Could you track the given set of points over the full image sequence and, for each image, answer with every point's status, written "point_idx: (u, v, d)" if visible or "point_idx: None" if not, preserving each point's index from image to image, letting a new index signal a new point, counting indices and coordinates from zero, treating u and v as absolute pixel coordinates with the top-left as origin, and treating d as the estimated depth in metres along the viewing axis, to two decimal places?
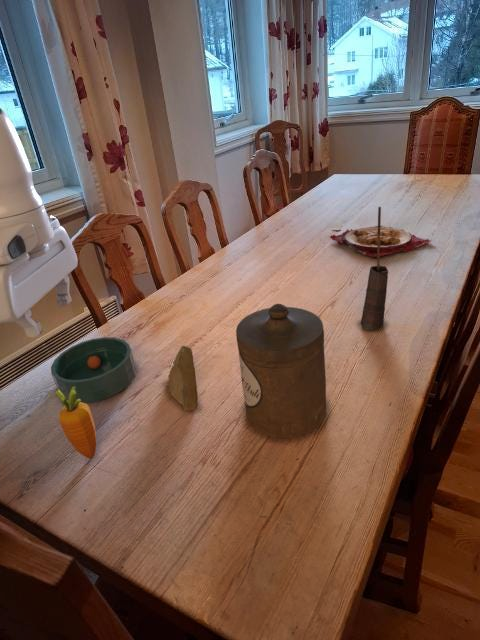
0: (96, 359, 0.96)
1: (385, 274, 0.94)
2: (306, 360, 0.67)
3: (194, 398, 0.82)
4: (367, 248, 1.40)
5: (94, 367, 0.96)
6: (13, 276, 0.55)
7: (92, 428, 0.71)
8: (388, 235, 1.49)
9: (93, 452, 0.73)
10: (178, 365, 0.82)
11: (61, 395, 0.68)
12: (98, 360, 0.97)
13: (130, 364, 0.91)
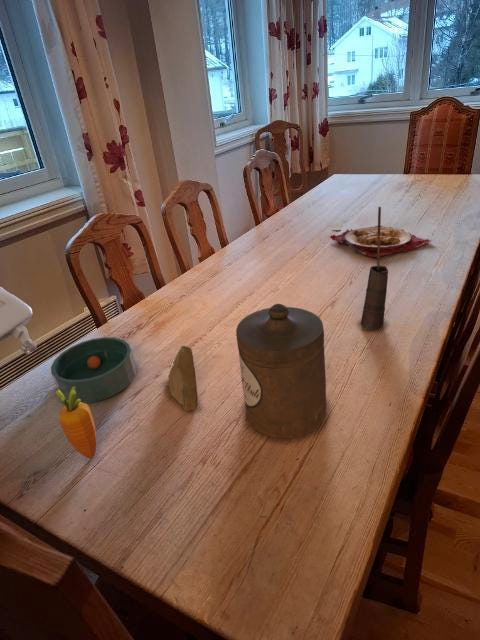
0: (96, 359, 0.96)
1: (385, 274, 0.94)
2: (306, 360, 0.67)
3: (194, 398, 0.82)
4: (367, 248, 1.40)
5: (94, 367, 0.96)
6: None
7: (92, 428, 0.71)
8: (388, 235, 1.49)
9: (93, 452, 0.73)
10: (178, 365, 0.82)
11: (61, 395, 0.68)
12: (98, 360, 0.97)
13: (130, 364, 0.91)
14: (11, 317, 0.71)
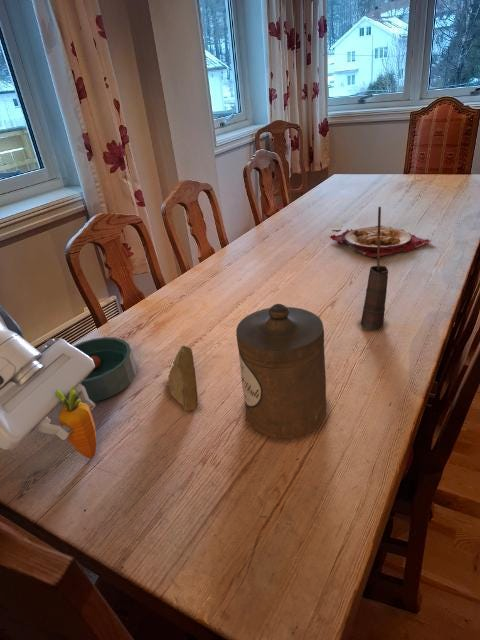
0: (96, 359, 0.96)
1: (385, 274, 0.94)
2: (306, 360, 0.67)
3: (194, 398, 0.82)
4: (367, 248, 1.40)
5: None
6: (6, 405, 0.63)
7: (92, 428, 0.71)
8: (388, 235, 1.49)
9: (93, 452, 0.73)
10: (178, 365, 0.82)
11: (61, 395, 0.68)
12: (98, 360, 0.97)
13: (130, 364, 0.91)
14: (76, 372, 0.73)
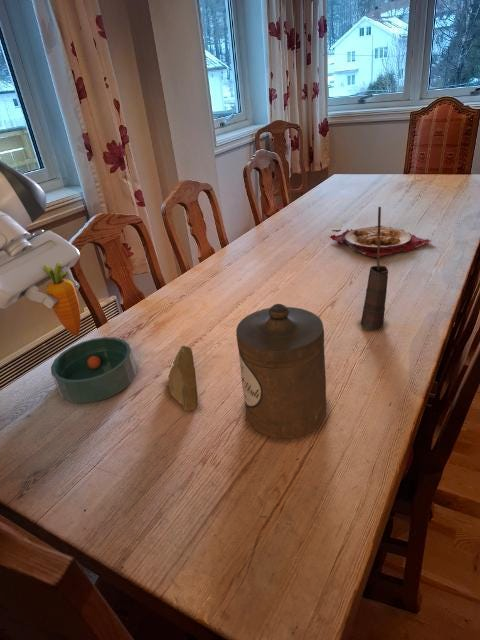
0: (96, 359, 0.96)
1: (385, 274, 0.94)
2: (306, 360, 0.67)
3: (194, 398, 0.82)
4: (367, 248, 1.40)
5: (94, 367, 0.96)
6: None
7: (76, 303, 0.79)
8: (388, 235, 1.49)
9: (78, 328, 0.81)
10: (178, 365, 0.82)
11: None
12: (98, 360, 0.97)
13: (130, 364, 0.91)
14: (63, 255, 0.81)
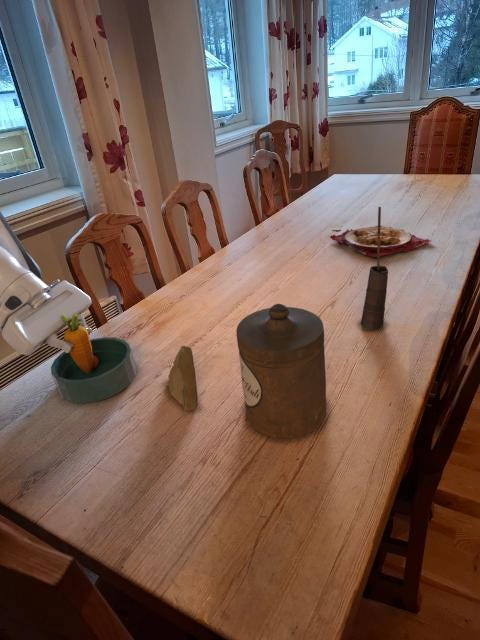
0: None
1: (385, 274, 0.94)
2: (306, 360, 0.67)
3: (194, 398, 0.82)
4: (367, 248, 1.40)
5: (92, 365, 0.96)
6: (24, 321, 0.83)
7: (89, 346, 0.90)
8: (388, 235, 1.49)
9: (90, 367, 0.93)
10: (178, 365, 0.82)
11: (65, 318, 0.88)
12: (94, 358, 0.97)
13: (130, 364, 0.91)
14: (77, 304, 0.93)
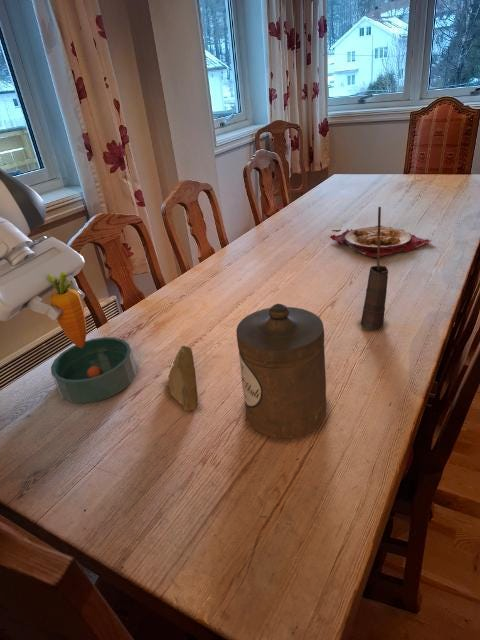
0: None
1: (385, 274, 0.94)
2: (306, 360, 0.67)
3: (194, 398, 0.82)
4: (367, 248, 1.40)
5: None
6: None
7: (82, 313, 0.74)
8: (388, 235, 1.49)
9: (83, 340, 0.77)
10: (178, 365, 0.82)
11: None
12: None
13: (130, 364, 0.91)
14: (67, 263, 0.77)
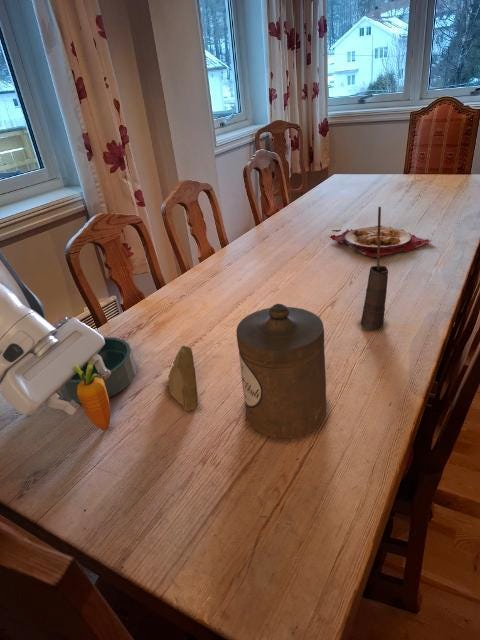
0: None
1: (385, 274, 0.94)
2: (306, 360, 0.67)
3: (194, 398, 0.82)
4: (367, 248, 1.40)
5: None
6: (26, 374, 0.69)
7: (107, 401, 0.76)
8: (388, 235, 1.49)
9: (107, 424, 0.79)
10: (178, 365, 0.82)
11: (79, 370, 0.74)
12: None
13: (130, 364, 0.91)
14: (88, 347, 0.79)
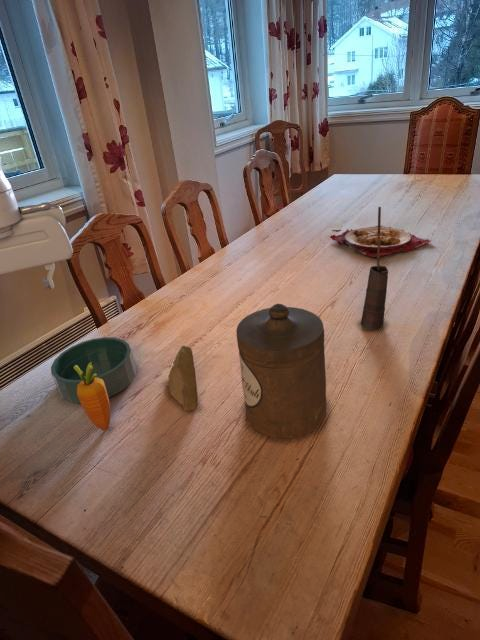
0: None
1: (385, 274, 0.94)
2: (306, 360, 0.67)
3: (194, 398, 0.82)
4: (367, 248, 1.40)
5: None
6: None
7: (107, 401, 0.76)
8: (388, 235, 1.49)
9: (107, 424, 0.79)
10: (178, 365, 0.82)
11: (79, 370, 0.74)
12: None
13: (130, 364, 0.91)
14: (44, 255, 0.68)
